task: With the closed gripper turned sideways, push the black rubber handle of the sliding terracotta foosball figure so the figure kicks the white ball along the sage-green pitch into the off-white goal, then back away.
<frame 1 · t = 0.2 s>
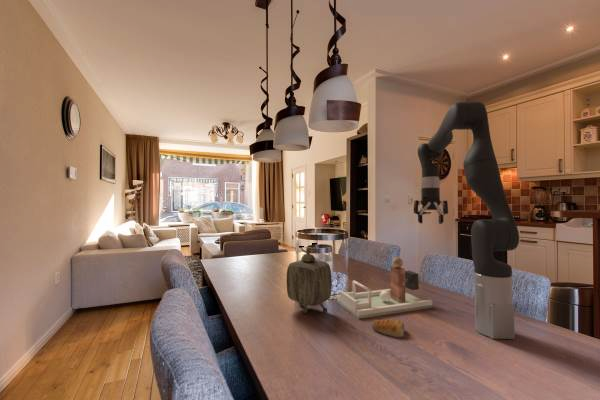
hand: (430, 223, 129), 28 cm above the table, tool pointing down, fingers open, 8 cm apart
pitch: (383, 304, 108), on the table
ball: (385, 296, 109), point 3 cm above the table, touching pitch
pastry: (390, 333, 86), on the table
tabletop clock: (308, 312, 103), on the table
striker: (403, 277, 111), point 9 cm above the table, slide at 0.0 cm
goal: (355, 308, 105), resting on pitch
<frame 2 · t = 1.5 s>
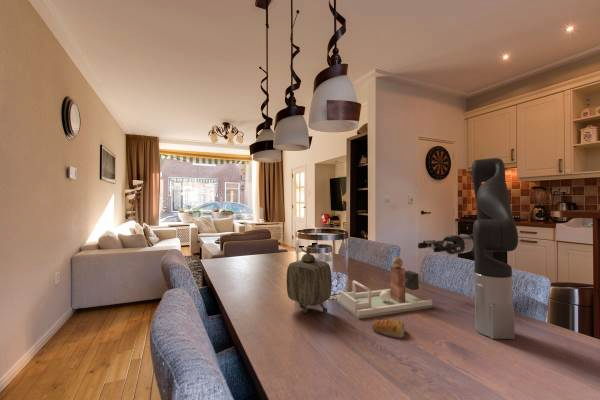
hand: (426, 247, 114), 20 cm above the table, tool horizontal, fingers open, 8 cm apart
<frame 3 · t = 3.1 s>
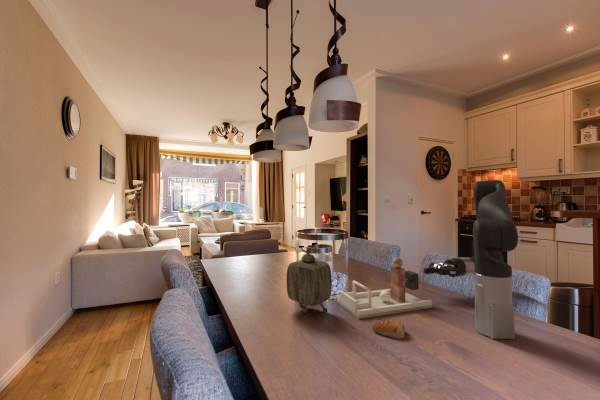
hand: (424, 271, 114), 11 cm above the table, tool horizontal, fingers closed
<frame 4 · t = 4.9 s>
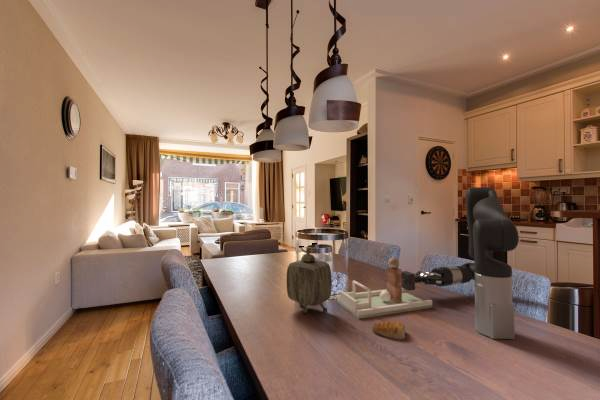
hand: (410, 280, 112), 8 cm above the table, tool horizontal, fingers closed
striker: (400, 277, 111), point 9 cm above the table, slide at 1.6 cm, touching gripper
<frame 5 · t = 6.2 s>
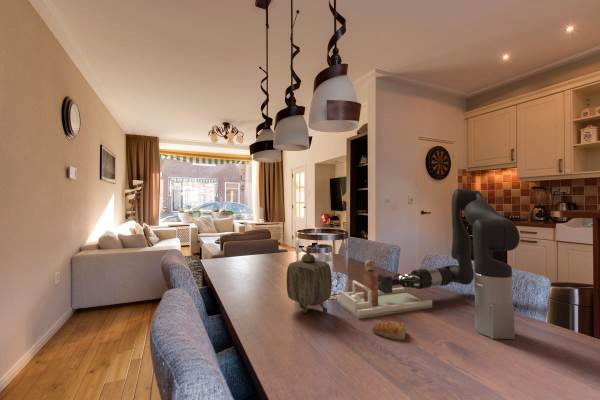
hand: (388, 282, 109), 8 cm above the table, tool horizontal, fingers closed
ball: (355, 300, 105), point 3 cm above the table, touching pitch
striker: (377, 280, 108), point 9 cm above the table, slide at 11.7 cm, touching gripper
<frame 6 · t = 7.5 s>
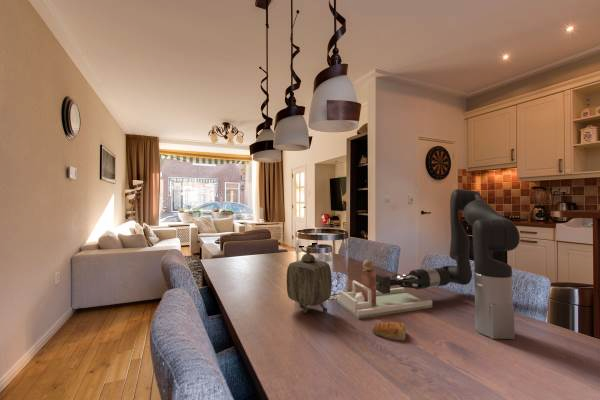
hand: (386, 282, 109), 8 cm above the table, tool horizontal, fingers closed
ball: (359, 299, 106), point 3 cm above the table, tilted 56°, touching pitch
striker: (375, 280, 107), point 9 cm above the table, slide at 12.5 cm, touching gripper
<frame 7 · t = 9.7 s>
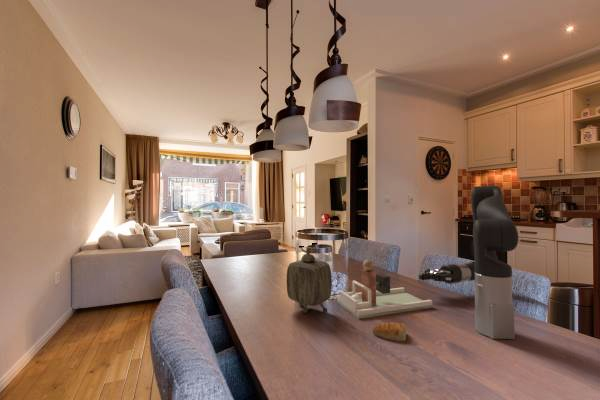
hand: (420, 277, 113), 9 cm above the table, tool horizontal, fingers closed
ball: (355, 300, 105), point 3 cm above the table, touching pitch
striker: (375, 280, 107), point 9 cm above the table, slide at 12.5 cm
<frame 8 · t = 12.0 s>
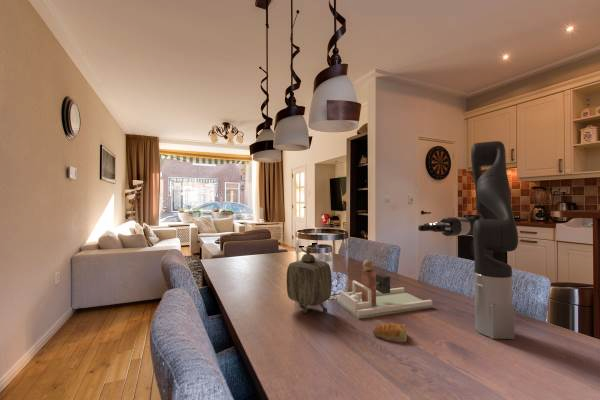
hand: (419, 228, 113), 28 cm above the table, tool horizontal, fingers closed
at the end: ball 0.4 cm from the goal (horizontally); striker slide at 12.5 cm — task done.
